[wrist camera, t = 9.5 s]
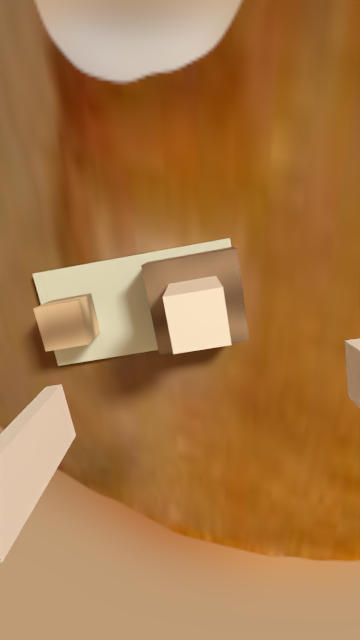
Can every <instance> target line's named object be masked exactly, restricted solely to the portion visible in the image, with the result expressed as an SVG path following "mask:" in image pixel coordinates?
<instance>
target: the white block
mask: <svg viewBox="0 0 360 640" xmlns="http://www.w3.org/2000/svg"><path fill="white" fill-rule="evenodd" d="M163 302H164V308H165V313H166V318H167V323H168V329H169V334H170V339H171V344H172V349H173V354H178V353H184V352H191V351H197V350H203V349H210V348H216V347H222V346H229V345H232V344H231V337H230V330H229V324H228V317H227V310H226V303H225V296H224V290H223V286H222V284H221V283H220V281H219V280H218V278H217V277H216V276H212V277H206V278H201V279H195V280H189V281H183V282H177V283H172V284H169V285H168V287H167V289H166V291H165V293H164V295H163Z"/></svg>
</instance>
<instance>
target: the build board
mask: <svg viewBox="0 0 360 640" xmlns="http://www.w3.org/2000/svg"><path fill="white" fill-rule="evenodd" d="M228 247H231V242H230V238H227V239H222V240H216V241H211V242H205V243H200V244H194V245H189V246H183V247H178V248H172V249H167V250H161V251H155V252H150V253H144V254H139V255H133V256H128V257H122V258H117V259H111V260H106V261H100V262H95V263H89V264H84V265H78V266H73V267H67V268H62V269H56V270H51V271H45V272H40V273H34V274H33V278H34V282H35V285H36V289H37V292H38V296H39V299H40V303H41V305H42V304H44V303H46V302H49V301H51V300H55V299H61V298H66V297H72V296H78V295H83V294H89V293H91V295H92V299H93V303H94V307H95V311H96V315H97V320H98V324H99V328H100V333H99V334H98V335H97V336H96V337H95V338H94V340H93V341H92V342H91V343H90V344H89V345H83V346H77V347H70V348H64V349H58V350H54V353H55V357H56V360H57V364H58V366H60V365H67V364H73V363H79V362H86V361H92V360H98V359H104V358H111V357H117V356H123V355H130V354H136V353H142V352H148V351H155V350H158V346H157V341H156V336H155V331H154V326H153V322H152V317H151V312H150V307H149V302H148V297H147V292H146V287H145V282H144V277H143V272H142V267H141V265H143V264H144V263H146V262H150V261H155V260H161V259H166V258H172V257H177V256H183V255H189V254H194V253H200V252H205V251H211V250H217V249H222V248H228Z"/></svg>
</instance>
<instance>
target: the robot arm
mask: <svg viewBox="0 0 360 640" xmlns="http://www.w3.org/2000/svg"><path fill="white" fill-rule="evenodd" d="M345 352H346V367H347V383H348V397H349V398H350V399H351V400H352V401H353V402H354V403H355V404H356V405H357V406H358V407H359V408H360V338H359V339H352V340H346V341H345ZM75 436H76V434H75V430H74V427H73V423H72V420H71V416H70V413H69V409H68V406H67V402H66V398H65V395H64V391H63V388H62V384H61V385H54V386H48V387H45V388H44V389H43V390H42V391H41V393H40V394H39V395H38V396H37V397H36V398H35V399H34V400H33V401H32V402H31V403H30V404H29V405H28V406H27V407H26V408H25V409H24V410H23V411H22V412H21V413H20V414H19V415H18V416H17V417H16V418H15V419H14V421H13V422H12V423H11V424H10V425H9V426H8V427H7V428H6V429H5V430H4V431H3V432H2V433H1V434H0V563H3V561H4V559H5V557H6V556H7V553H8V552H9V550H10V549H11V547H12V545H13V543H14V542H15V540H16V538H17V537H18V535H19V533H20V531H21V530H22V528H23V526H24V524H25V523H26V521H27V519H28V518H29V516H30V514H31V512H32V511H33V509H34V507H35V505H36V504H37V502H38V500H39V499H40V497H41V495H42V493H43V492H44V490H45V488H46V486H47V484H48V483H49V481H50V480H51V478H52V476H53V474H54V473H55V471H56V469H57V467H58V466H59V464H60V462H61V460H62V459H63V457H64V455H65V454H66V452H67V450H68V448H69V447H70V445H71V443H72V441H73V440H74V438H75Z"/></svg>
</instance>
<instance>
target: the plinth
mask: <svg viewBox="0 0 360 640" xmlns="http://www.w3.org/2000/svg"><path fill="white" fill-rule="evenodd" d="M141 267H142V272H143V277H144V282H145V287H146V292H147V297H148V302H149V307H150V312H151V317H152V322H153V326H154V331H155V336H156V341H157V346H158V351H159V355H163V354H169V353H173V349H172V344H171V339H170V334H169V329H168V323H167V318H166V313H165V308H164V302H163V295H164V293H165V291H166V289H167V287H168V285H169V284H172V283H177V282H183V281H189V280H195V279H201V278H206V277H212V276H216V277H217V278H218V280H219V281H220V283H221V284H222V286H223V290H224V296H225V303H226V310H227V317H228V324H229V330H230V337H231V344H233V343H239V342H245V341H249V334H248V327H247V319H246V312H245V305H244V297H243V290H242V282H241V275H240V267H239V260H238V253H237V248H234V247H228V248H222V249H217V250H211V251H205V252H200V253H194V254H189V255H183V256H177V257H172V258H166V259H161V260H155V261H150V262H146V263H144V264H143V265H141Z"/></svg>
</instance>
